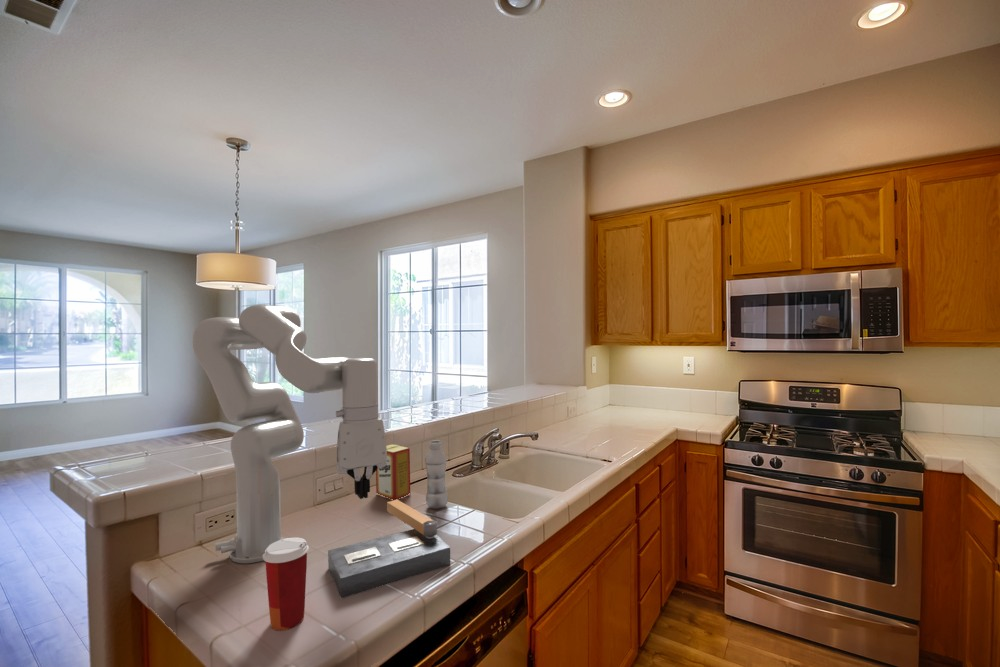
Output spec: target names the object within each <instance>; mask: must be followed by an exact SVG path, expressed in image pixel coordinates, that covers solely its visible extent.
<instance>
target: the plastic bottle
mask: <svg viewBox="0 0 1000 667" xmlns="http://www.w3.org/2000/svg"><path fill="white" fill-rule="evenodd" d="M428 448H429V451H428V452H427V453H426V455H425V458H424V463H425V468H426V469H425V470H426V477H427V479H426V480H427V485H426V487H427V488H426V496H425V501H426V506H428V508H430V509H433V510H434V509H435V510H436V509H437V510H438V509H443V508H445V507H446V506H447V504H448V499H449V497H448V491H447V484H446V469H447V456H446V454H445V452H444V451H443V450H442V448H443V443H442V441H441V440H431V441H429V447H428Z"/></svg>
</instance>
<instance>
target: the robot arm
mask: <svg viewBox="0 0 1000 667" xmlns="http://www.w3.org/2000/svg"><path fill="white" fill-rule="evenodd" d="M301 323H302V322H301V318H300V316H299V314H298V312H297V311H296V310H294V309H293V308H291V307H288V306H285V305H273V304H253V305H250V306H248V307H246V308H244V309H243V310H242V312H240V314H239V317H233V316H231V317H230V316H229V317H228V316H217V317H210V318H205V319H203V320H202V321H200V322H199V323H198V324H197V325H196V327H195V328H194V331H193V334H192V348H193V352H194V355H195V357H196V360H197V362H198V363H199V364H200V367H201V368H202V369H203V370H204V372H205V374H206V375H207V377H208V380H209V381H210V383H211V385H212V389H213V391H214V393H215V395H216V398H217V401H218V403H219V405H220V408H221V410H222V412H223V414H224V416H225V418H226V419H227V420H228V421H229V422H231V423H234V424H241V423H248V422H253V421H257V420H263V421H259V422H255V423H251V424H248V425H245V426H243V427H240V428H239V429H238V430H237V431H236V432H234V434H233V435H232V437H231V440H230V451H231V456H232V460H233V465H234V469H235V483H236V484H235V486H236V487H235V490H236V533H235V537H232V538H230V540H226V541H219V542H218V541H217V542H215V548H214V549H215V552H219V551H221V553H220V554H224V553H228V552H229V554H230V555H229V558H230V560H231V562H232V561H233V562H234V563H238V564H252V563H258V562H262V561H264V559H263V554H264V553H265V550H266V549H267V547H268V546H269V545H271V544H272V543H274V542H276V541H279V540H282V539H286V537H285V536H283V535H282V524H281V519H282V518H281V517H282V516H281V513H282V512H281V476H280V473H279V470H278V469H277V468H276V466H275V465H274V464H273V461H272V459H275V458H278V457H281V456H285V455H287V454H290V453H293V452H296V451H297V450H299V448H300V447H301V446H302V445H303V442H304V439H305V437H304V436H305V434H304V429H303V425H302V423H301V420H300V418H299V416H298V413H297V411H296V409H295V406H294V405H293V402H292V400H291V398H290V396H289V394H288V392H287V391H286V389H285V388H284V387H283V386H282V385H281V384H279V383H277V382H274V381H265V382H264V381H263V382H255V381H254V380H253V378H252V377H251V375H250V373H249V370H248V368H247V366H246V364H244V363H243V361H241V360H240V359H239V358H238V357H237V356H236V355H234V354H233V353H231V351H238V350H244V351H245V350H258V349H263V348H264V349H266V350H267V351H268V352H270V353H271V354H272V355H274V361H275V365H276V368H277V371H278V372H279V374H280V376H281V377H282V378H283V379H284V380H286V381H287V382H289V383H290V384H291V385H292V386H294V387H295V388H297V389H298V390H300V391H302V392H304V393H308V394H318V393H319V394H320V393H325V392H330V391H331V392H332V391H338V390H342V393H341V394H342V407H341V408H340V409H339V410H336V411H335V418H341V419H342V420H340V421H339V425H338V432H337V442H336V462H337V465H336V469H335V472H336V473H337V474H338V475H347V476H349V477H351V478H352V479H353V480H354V494H355V495H357V497H358V498H359V499H360V500H362V499H364V498H365V499H367V498H369V493H370V492H371V482H370V481H371V479H372V477H373V475H374V474H375V473H376V470H377V469H379V468H382V467H384V466H386V459H387V448H386V446H387V441H386V440H387V439H386V432H385V426H384V420H383V418H381V417H379V388H378V386H379V385H378V384H379V383H378V382H379V381H378V379H379V378H378V377H379V376H378V363H377V360H376V359H374V358H369V357H358V358H356V357H355V358H350V357H347V356H337V357H336V356H334V357H331V356H330V357H318V358H313V357H310V356H309V355H307V354H306V353H304V352H302V351H303V350H304V349H305V346H306V345H307V339H308V338H307V334H306V332H305V331H304V330H303V328H301V327H302V326H301ZM264 419H265V420H264ZM361 468H363V472H362V476H361V472H360V469H361ZM264 562H265V561H264Z"/></svg>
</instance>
